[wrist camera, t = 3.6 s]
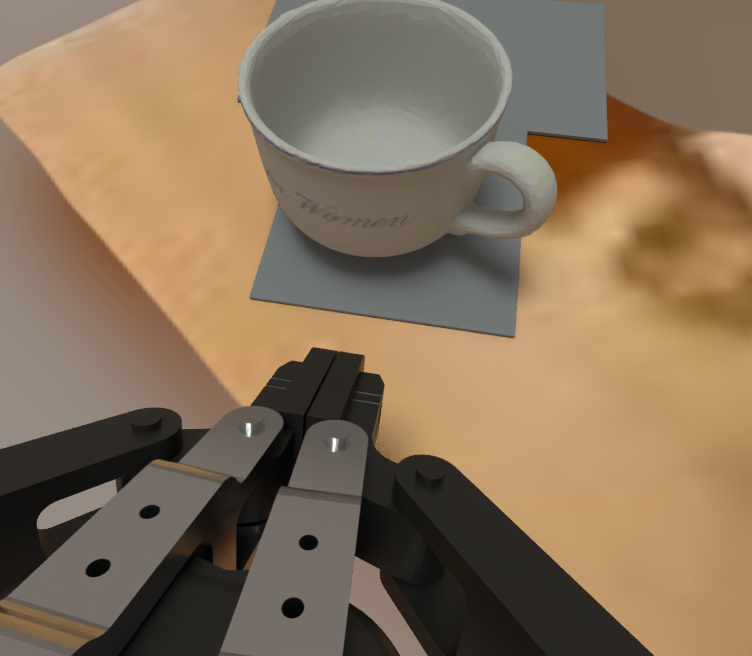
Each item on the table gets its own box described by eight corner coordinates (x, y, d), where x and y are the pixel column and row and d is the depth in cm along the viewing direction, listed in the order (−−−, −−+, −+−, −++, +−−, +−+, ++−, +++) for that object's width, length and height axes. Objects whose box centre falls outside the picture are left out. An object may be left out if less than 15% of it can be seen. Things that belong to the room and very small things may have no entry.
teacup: (242, 187, 26) (184, 51, 19) (393, 95, 28) (395, -56, 21) (403, 373, 21) (412, 292, 14) (566, 245, 24) (645, 120, 17)
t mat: (602, 7, 31) (603, 4, 31) (611, 352, 22) (613, 350, 22) (285, -19, 33) (285, -23, 33) (165, 286, 24) (163, 284, 24)
